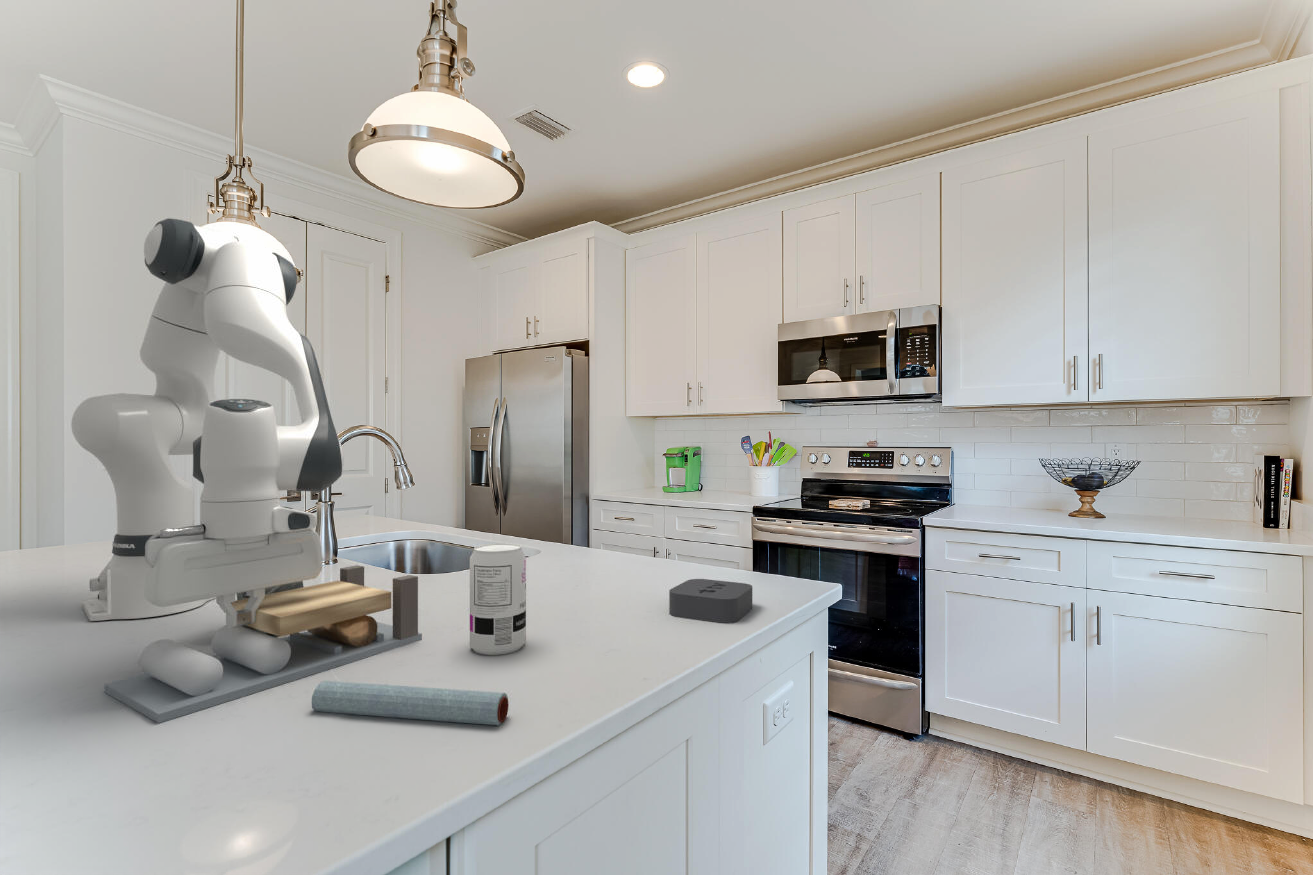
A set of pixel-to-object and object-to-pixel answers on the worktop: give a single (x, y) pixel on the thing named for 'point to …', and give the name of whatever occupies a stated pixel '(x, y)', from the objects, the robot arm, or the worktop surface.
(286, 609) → the oak slab
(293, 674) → the roller bed
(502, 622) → the supplement can
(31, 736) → the worktop surface
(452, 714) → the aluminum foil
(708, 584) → the streaming box
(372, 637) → the copper roller
